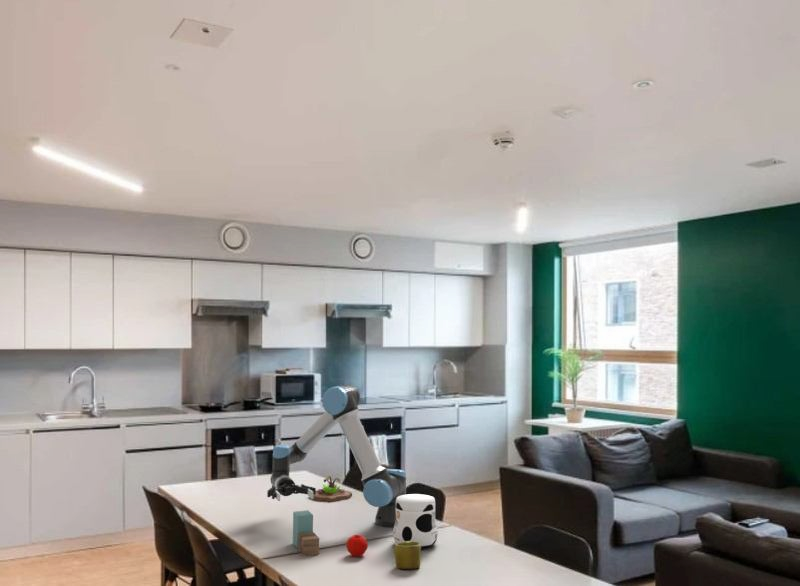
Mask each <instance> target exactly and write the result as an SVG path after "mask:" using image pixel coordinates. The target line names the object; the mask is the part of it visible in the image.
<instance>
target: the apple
mask: <svg viewBox="0 0 800 586" xmlns="http://www.w3.org/2000/svg"><path fill="white" fill-rule="evenodd" d="M345 545H346V549H347V551H348V552H349V554H350V555H351V556H352V557H355V558H359V557H362V556H363V555H364V554H365V553H366V552H367V550H368V542H367V539H366V538H365V537H364V536H363V535H360V534H355V535H352V536H350V537H349V538H348V539H347V541H346V544H345Z"/></svg>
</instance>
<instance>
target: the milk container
mask: <svg viewBox="0 0 800 586" xmlns="http://www.w3.org/2000/svg"><path fill="white" fill-rule="evenodd" d="M392 532H393V534H392V536H393V540H394V542H395V544H396V543H399V542H406V541H410V542H419V543H420V545H421V549H424V548H428V547H432V546H433V545H435V544H436V542H437V539H438V534H439V533H438V527H437V524H436V499H435V497H434V496H431V495H428V494H421V493H410V494H409V493H408V494H407V493H406V495H401V496H398V497H397V498H396V521H395V525H394V527H393V530H392Z"/></svg>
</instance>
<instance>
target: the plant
mask: <svg viewBox="0 0 800 586" xmlns="http://www.w3.org/2000/svg"><path fill="white" fill-rule="evenodd" d="M336 480H337V482H338V483H340V482H341V479H340V478H338V477H336V478H334V479H332V477H331V476H329V475H328V476H327V477H326V478H324V479H323V483H326V482H327V485H324V484H322V487H321V488H318V489H316V494H314V495H313V499H311V498H310V497H309V496H308V498H310V499H311V500H312V501H316V502H327V503H336V502H340V501H341V502H342V501H345V500H346V501H347V500H349V499H351V498H352V497H353V492H351V491H349V490H345V489H342V488H341V487H342V486H338V485H337V484H336V483H335V482H336Z"/></svg>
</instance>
